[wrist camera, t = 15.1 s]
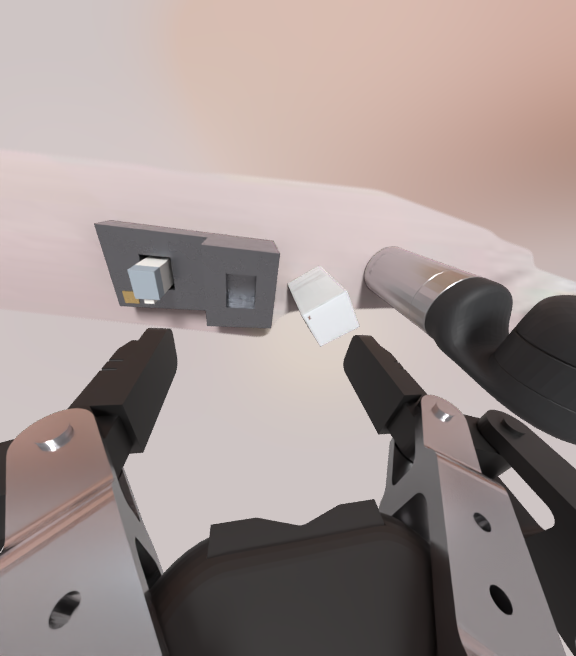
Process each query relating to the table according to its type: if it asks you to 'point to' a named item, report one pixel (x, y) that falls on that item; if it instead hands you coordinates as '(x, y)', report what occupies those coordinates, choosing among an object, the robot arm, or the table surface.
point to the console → (197, 271)
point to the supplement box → (323, 305)
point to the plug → (151, 278)
